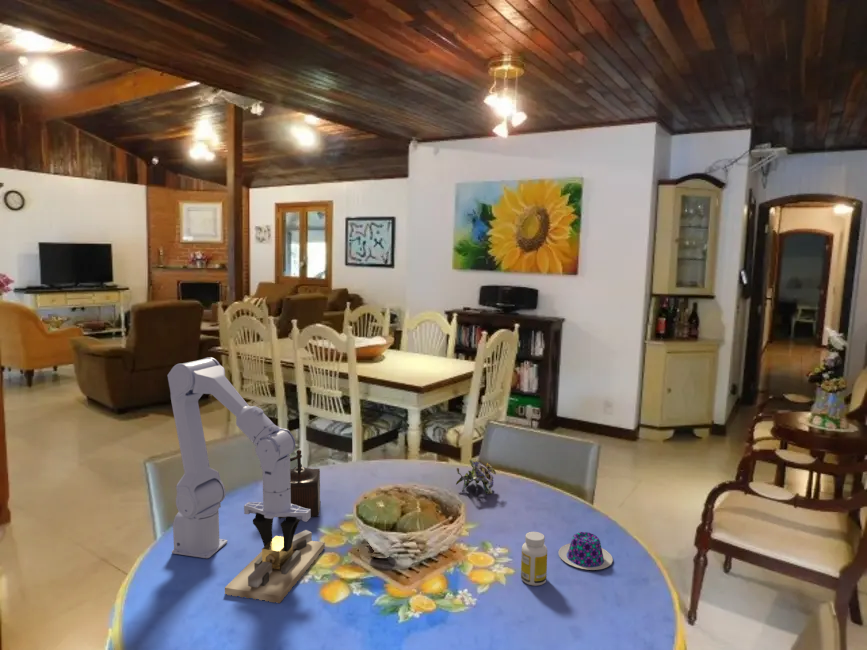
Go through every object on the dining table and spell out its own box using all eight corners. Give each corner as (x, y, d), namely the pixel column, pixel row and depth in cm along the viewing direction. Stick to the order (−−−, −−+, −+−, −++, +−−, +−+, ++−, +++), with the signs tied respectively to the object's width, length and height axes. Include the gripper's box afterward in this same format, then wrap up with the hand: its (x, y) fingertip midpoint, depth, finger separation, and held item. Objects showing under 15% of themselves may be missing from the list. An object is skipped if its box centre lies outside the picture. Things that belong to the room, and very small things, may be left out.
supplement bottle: (548, 575, 127) (549, 532, 126) (544, 588, 122) (546, 544, 121) (523, 570, 129) (524, 528, 128) (518, 583, 124) (519, 539, 123)
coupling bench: (224, 594, 119) (224, 574, 118) (277, 542, 140) (276, 524, 139) (279, 603, 116) (279, 582, 115) (324, 548, 137) (324, 530, 137)
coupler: (261, 567, 125) (261, 549, 124) (276, 552, 131) (276, 535, 131) (278, 570, 124) (278, 552, 123) (293, 554, 130) (293, 537, 130)
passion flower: (488, 511, 170) (499, 488, 162) (451, 504, 170) (460, 481, 162) (488, 477, 179) (499, 454, 171) (453, 471, 178) (462, 448, 170)
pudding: (548, 559, 135) (549, 537, 134) (574, 540, 144) (575, 520, 143) (597, 579, 127) (598, 556, 126) (621, 558, 136) (622, 536, 135)
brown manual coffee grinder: (321, 499, 164) (320, 436, 162) (318, 517, 153) (318, 450, 151) (263, 501, 162) (262, 438, 160) (257, 520, 151) (255, 452, 149)
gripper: (235, 491, 123) (237, 552, 125) (300, 498, 120) (301, 561, 122) (253, 478, 130) (254, 537, 132) (314, 485, 127) (315, 545, 129)
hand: (278, 547), depth 127 cm, fingers closed on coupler, 4 cm apart
